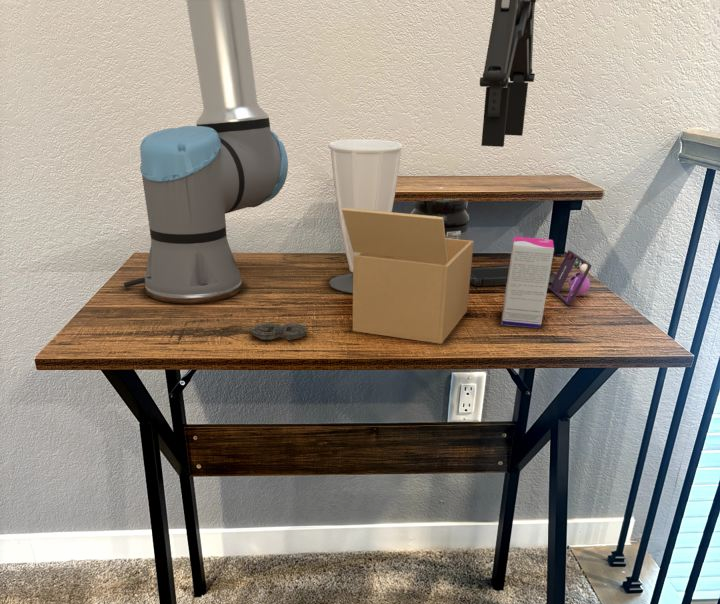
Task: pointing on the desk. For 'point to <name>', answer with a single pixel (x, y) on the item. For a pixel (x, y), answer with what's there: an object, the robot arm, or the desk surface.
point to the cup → (362, 185)
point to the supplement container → (446, 215)
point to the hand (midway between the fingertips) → (502, 140)
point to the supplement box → (527, 282)
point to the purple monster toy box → (577, 282)
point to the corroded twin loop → (278, 331)
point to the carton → (412, 293)
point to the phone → (493, 275)
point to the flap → (396, 234)
